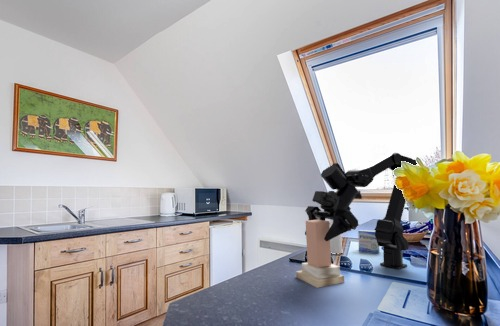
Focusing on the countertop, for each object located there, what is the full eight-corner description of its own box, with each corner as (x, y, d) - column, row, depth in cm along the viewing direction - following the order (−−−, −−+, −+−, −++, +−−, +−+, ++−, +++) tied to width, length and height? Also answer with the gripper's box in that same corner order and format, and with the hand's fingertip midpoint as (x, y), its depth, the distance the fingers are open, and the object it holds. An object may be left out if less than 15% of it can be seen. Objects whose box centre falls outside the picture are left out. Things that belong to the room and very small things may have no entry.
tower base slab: (322, 274, 93) (321, 267, 93) (344, 284, 84) (344, 275, 84) (296, 279, 89) (296, 271, 89) (317, 290, 80) (316, 281, 80)
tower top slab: (322, 268, 92) (322, 260, 92) (340, 275, 85) (339, 266, 85) (301, 271, 89) (301, 263, 89) (317, 279, 82) (317, 270, 82)
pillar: (320, 261, 90) (318, 219, 91) (331, 265, 86) (329, 221, 87) (307, 263, 88) (305, 220, 89) (317, 267, 84) (315, 222, 84)
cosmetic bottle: (337, 255, 115) (336, 200, 117) (325, 252, 120) (323, 199, 122) (346, 253, 119) (344, 199, 121) (333, 250, 124) (332, 199, 125)
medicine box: (358, 251, 122) (357, 230, 123) (359, 249, 126) (359, 229, 126) (378, 253, 118) (378, 232, 119) (379, 251, 122) (378, 230, 123)
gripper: (309, 182, 99) (282, 216, 93) (349, 181, 82) (319, 223, 77) (327, 204, 102) (302, 239, 96) (370, 208, 85) (343, 250, 79)
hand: (315, 237), depth 87 cm, fingers open, 9 cm apart
